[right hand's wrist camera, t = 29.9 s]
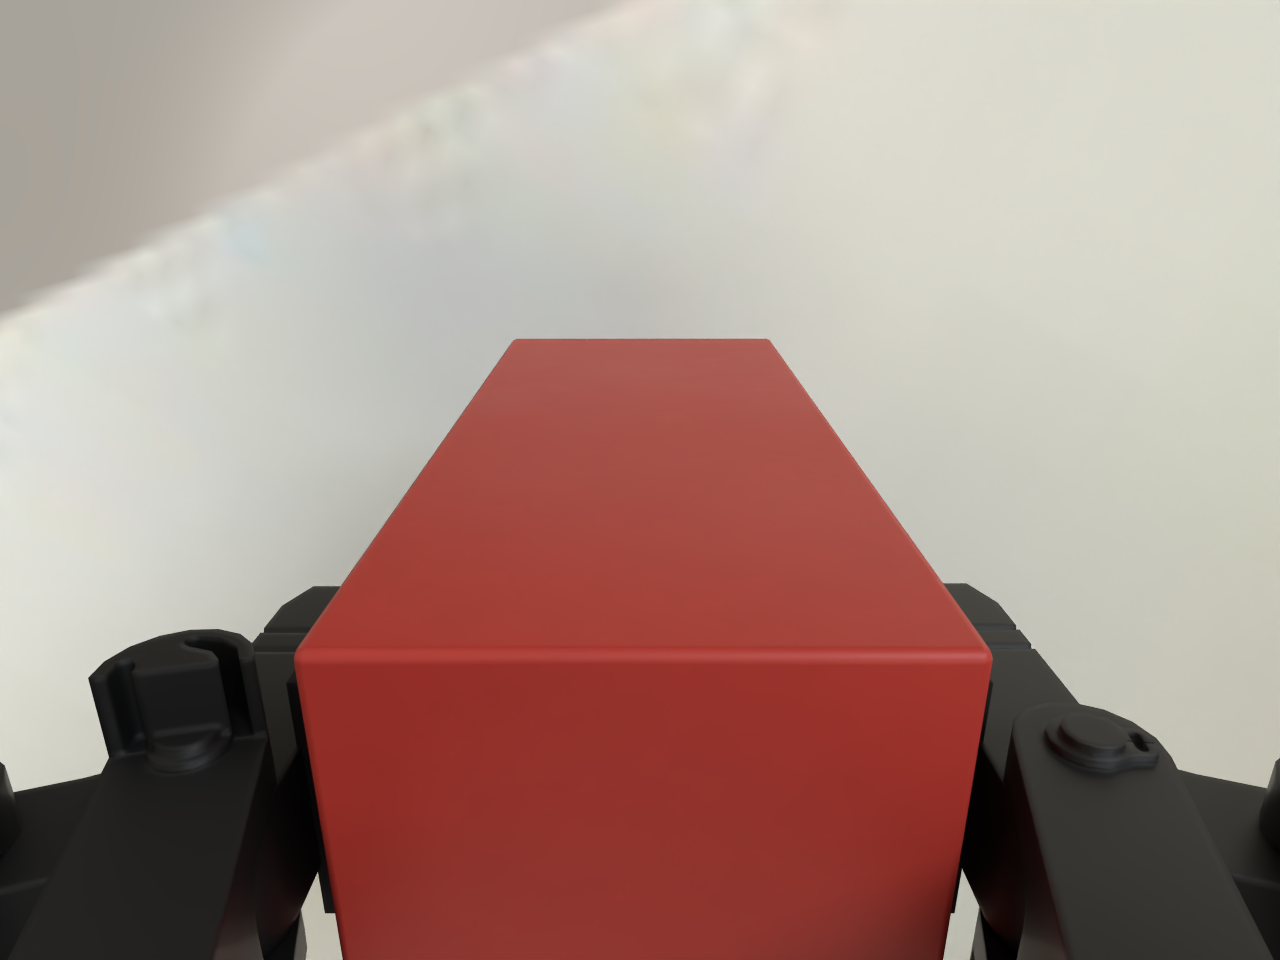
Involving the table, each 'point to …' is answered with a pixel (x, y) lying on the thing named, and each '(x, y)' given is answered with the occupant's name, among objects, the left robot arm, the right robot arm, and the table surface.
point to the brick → (642, 681)
